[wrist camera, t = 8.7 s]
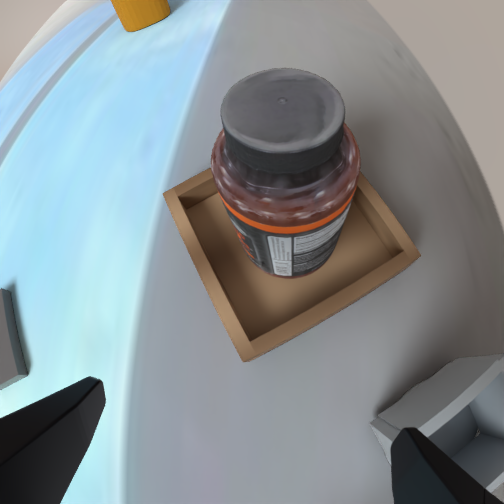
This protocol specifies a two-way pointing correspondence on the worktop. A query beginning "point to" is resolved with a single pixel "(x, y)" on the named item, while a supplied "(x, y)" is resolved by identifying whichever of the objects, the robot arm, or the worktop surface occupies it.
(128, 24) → the flashlight
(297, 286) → the tray
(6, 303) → the pad
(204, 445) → the worktop surface
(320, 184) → the supplement bottle
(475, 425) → the grey open square bin
